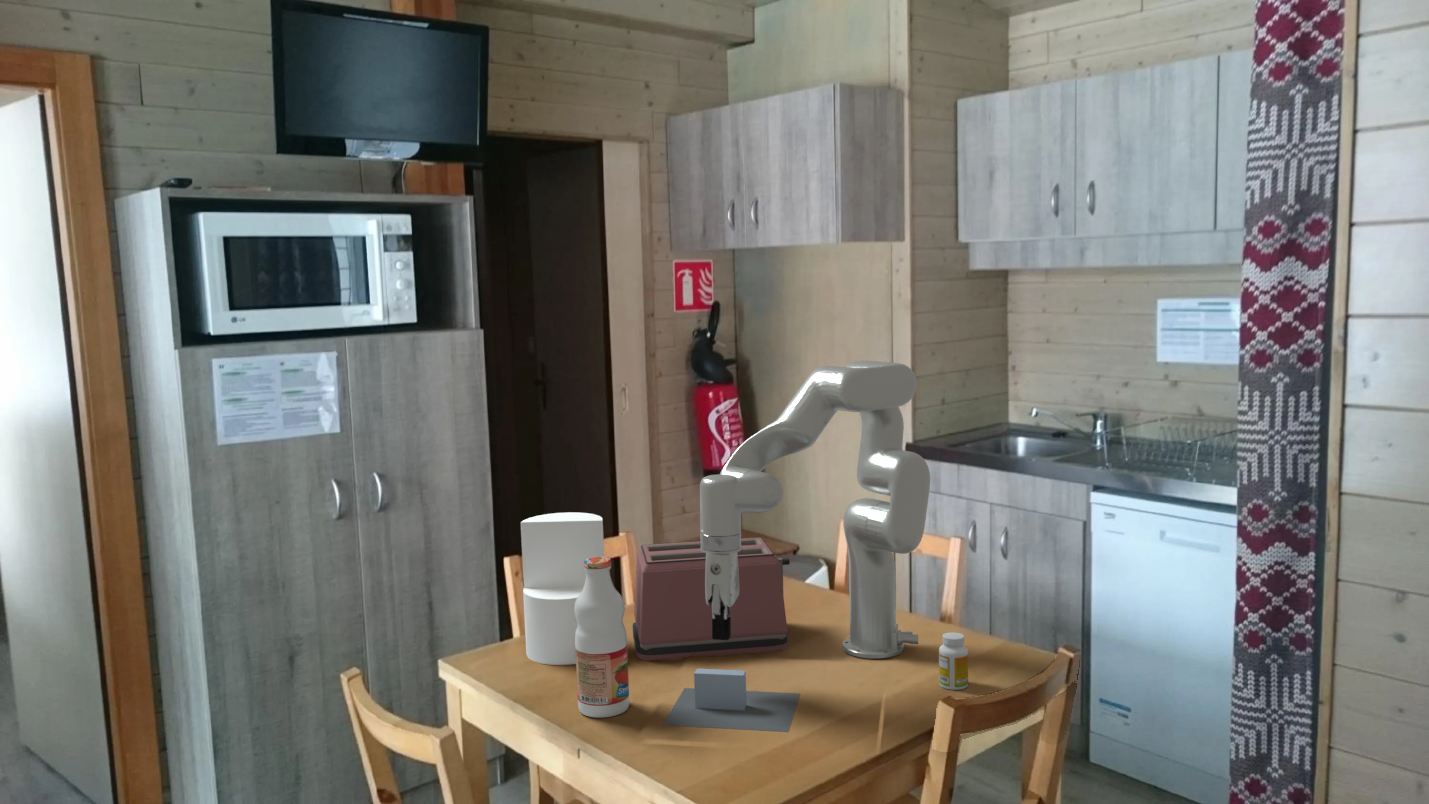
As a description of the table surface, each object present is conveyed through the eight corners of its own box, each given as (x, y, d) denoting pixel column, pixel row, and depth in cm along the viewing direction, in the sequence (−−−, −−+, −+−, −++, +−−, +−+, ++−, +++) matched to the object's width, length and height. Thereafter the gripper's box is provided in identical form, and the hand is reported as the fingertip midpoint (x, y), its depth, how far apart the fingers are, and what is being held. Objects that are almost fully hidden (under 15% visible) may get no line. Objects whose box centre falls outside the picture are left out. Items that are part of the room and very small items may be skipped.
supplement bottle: (969, 681, 205) (969, 632, 204) (966, 691, 200) (966, 641, 199) (941, 678, 207) (940, 629, 206) (937, 689, 202) (937, 639, 201)
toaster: (800, 650, 225) (798, 555, 223) (637, 663, 221) (633, 566, 219) (782, 621, 244) (779, 533, 242) (632, 632, 240) (628, 543, 237)
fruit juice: (575, 701, 201) (568, 555, 198) (625, 695, 203) (619, 551, 200) (580, 721, 192) (573, 568, 189) (633, 715, 194) (627, 563, 191)
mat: (800, 697, 200) (800, 693, 200) (788, 736, 184) (788, 731, 184) (684, 691, 205) (684, 687, 204) (662, 729, 188) (662, 724, 188)
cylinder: (535, 637, 238) (528, 513, 235) (613, 635, 238) (607, 511, 234) (518, 665, 221) (511, 532, 218) (602, 664, 221) (596, 530, 217)
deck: (746, 704, 196) (745, 670, 195) (744, 710, 193) (743, 675, 192) (698, 702, 197) (697, 668, 197) (695, 707, 195) (694, 673, 194)
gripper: (733, 552, 191) (734, 652, 193) (747, 533, 206) (748, 627, 208) (692, 550, 193) (693, 650, 195) (708, 532, 207) (709, 625, 209)
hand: (721, 638), depth 201 cm, fingers closed
